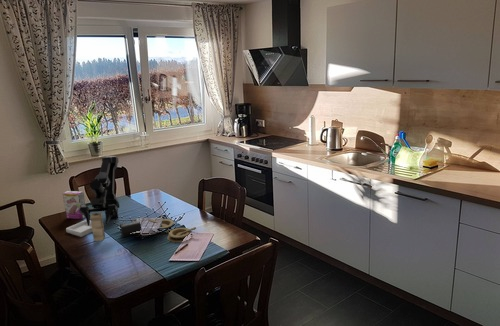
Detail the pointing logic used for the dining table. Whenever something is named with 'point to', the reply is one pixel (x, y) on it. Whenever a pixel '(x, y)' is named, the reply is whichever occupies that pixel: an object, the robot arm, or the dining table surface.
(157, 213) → the dining table surface
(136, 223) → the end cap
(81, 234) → the tray
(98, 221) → the maple block
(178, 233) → the tableware set
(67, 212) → the candy bar box
